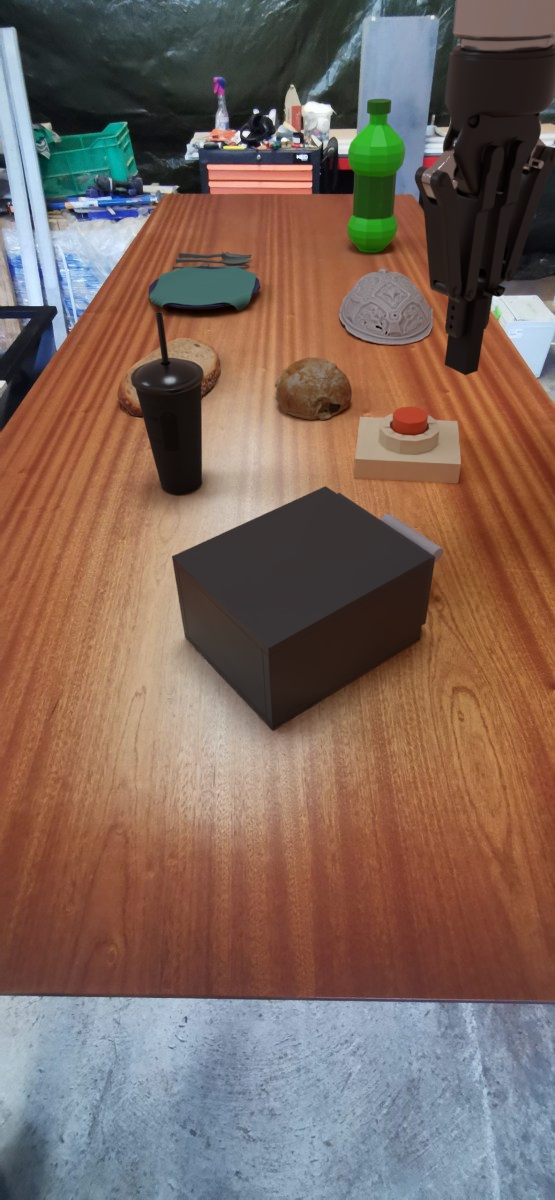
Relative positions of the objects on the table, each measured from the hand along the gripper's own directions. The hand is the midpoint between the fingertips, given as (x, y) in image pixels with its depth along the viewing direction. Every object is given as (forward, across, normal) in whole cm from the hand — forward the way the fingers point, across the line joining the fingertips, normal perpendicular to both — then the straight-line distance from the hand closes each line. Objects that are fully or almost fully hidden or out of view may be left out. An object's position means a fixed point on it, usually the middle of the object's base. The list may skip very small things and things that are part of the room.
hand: (461, 367), depth 67 cm
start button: (+14, -6, -13) cm, 20 cm away
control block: (+18, -6, -13) cm, 23 cm away
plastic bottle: (+18, -53, -79) cm, 96 cm away
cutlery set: (+18, -16, -80) cm, 83 cm away
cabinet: (+18, +21, +5) cm, 28 cm away
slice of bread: (+18, +8, -49) cm, 53 cm away
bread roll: (+18, -5, -31) cm, 37 cm away
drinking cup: (+18, +18, -24) cm, 35 cm away
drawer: (+17, +17, +5) cm, 25 cm away
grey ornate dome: (+18, -33, -50) cm, 63 cm away
